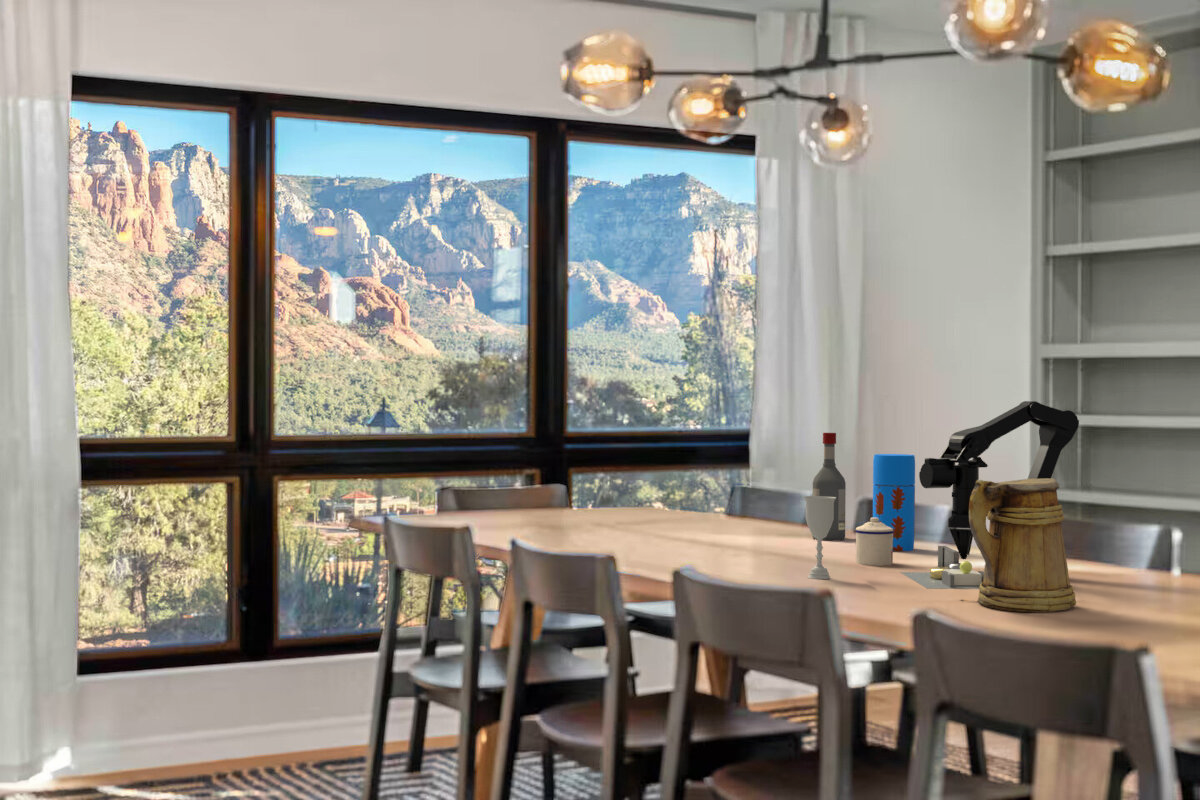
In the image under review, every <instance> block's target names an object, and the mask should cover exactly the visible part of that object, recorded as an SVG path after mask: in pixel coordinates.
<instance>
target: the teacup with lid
mask: <svg viewBox="0 0 1200 800" xmlns="http://www.w3.org/2000/svg"><path fill="white" fill-rule="evenodd" d="M854 532H855V564H858V565H862V566H875V567H877V566H881V567H882V566H884V567H885V566H892V565H893V563H894V562H893V561H894V551H893V533H894V531H893V528H891V527H888V526H886V525H885V524H883V523H881V522H879V518H873V517H870V520H869V521H867V522H866V523H863V525H860V526H857V527H856V528H855V530H854Z"/></svg>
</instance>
